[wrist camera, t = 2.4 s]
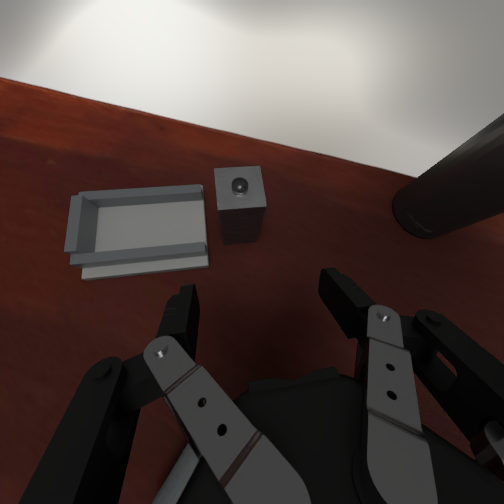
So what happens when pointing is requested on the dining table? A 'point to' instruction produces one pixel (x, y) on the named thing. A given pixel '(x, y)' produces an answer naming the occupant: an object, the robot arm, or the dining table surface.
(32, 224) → the dining table surface
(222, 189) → the aluminium block
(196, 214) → the grey open box
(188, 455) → the ceramic mug
